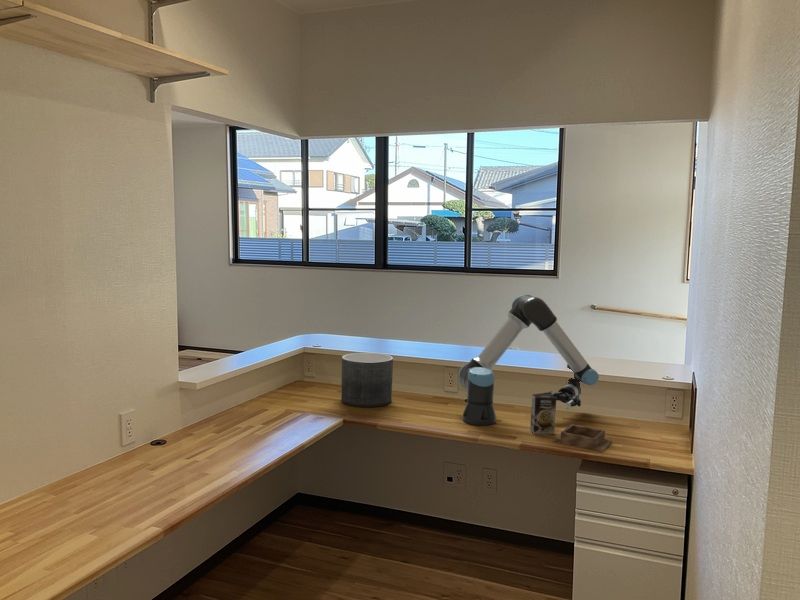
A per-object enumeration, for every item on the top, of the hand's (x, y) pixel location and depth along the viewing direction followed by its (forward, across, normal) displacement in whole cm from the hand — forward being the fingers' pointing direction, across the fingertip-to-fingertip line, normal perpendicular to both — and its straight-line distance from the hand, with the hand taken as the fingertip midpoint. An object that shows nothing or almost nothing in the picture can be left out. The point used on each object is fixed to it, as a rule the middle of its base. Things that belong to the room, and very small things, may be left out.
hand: (552, 403), depth 268 cm
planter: (+18, +89, -10) cm, 92 cm away
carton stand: (+13, -18, -10) cm, 24 cm away
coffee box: (+11, 0, -10) cm, 15 cm away
